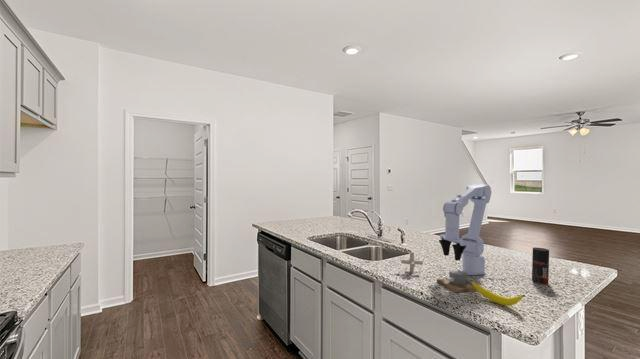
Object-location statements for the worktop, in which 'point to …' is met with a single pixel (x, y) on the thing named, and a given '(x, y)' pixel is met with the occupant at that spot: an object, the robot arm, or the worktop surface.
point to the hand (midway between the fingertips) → (451, 257)
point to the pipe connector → (412, 262)
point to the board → (457, 286)
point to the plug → (458, 277)
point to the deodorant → (540, 266)
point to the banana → (497, 296)
